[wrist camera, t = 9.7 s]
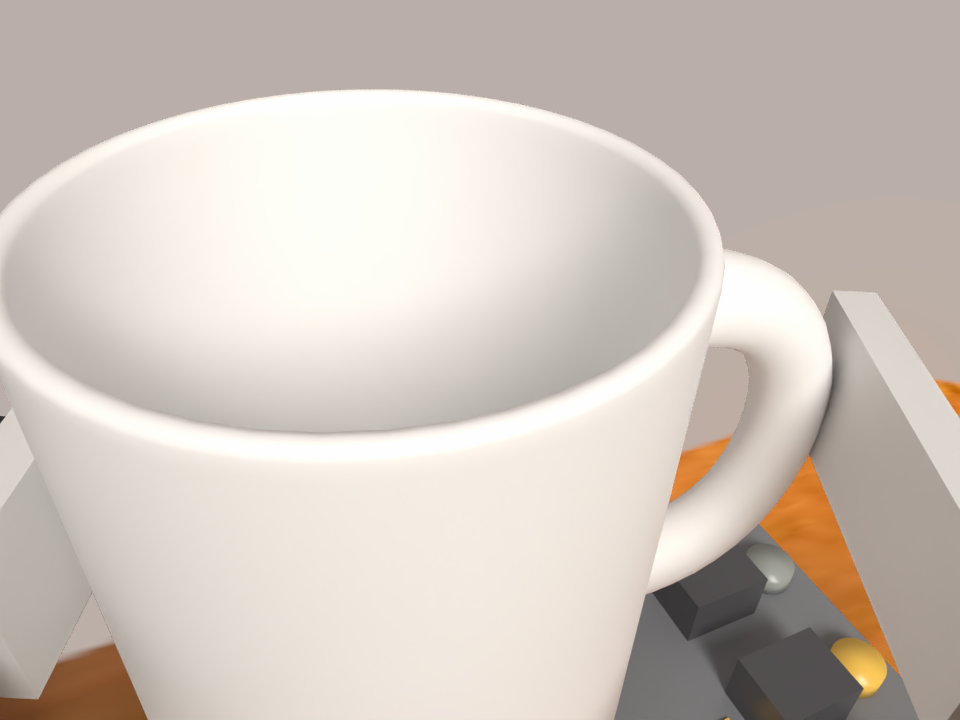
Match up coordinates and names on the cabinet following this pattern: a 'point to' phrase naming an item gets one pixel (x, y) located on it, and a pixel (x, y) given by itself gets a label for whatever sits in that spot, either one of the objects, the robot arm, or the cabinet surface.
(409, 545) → the mug
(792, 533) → the cabinet surface
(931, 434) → the robot arm
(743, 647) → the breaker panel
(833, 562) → the cabinet surface
